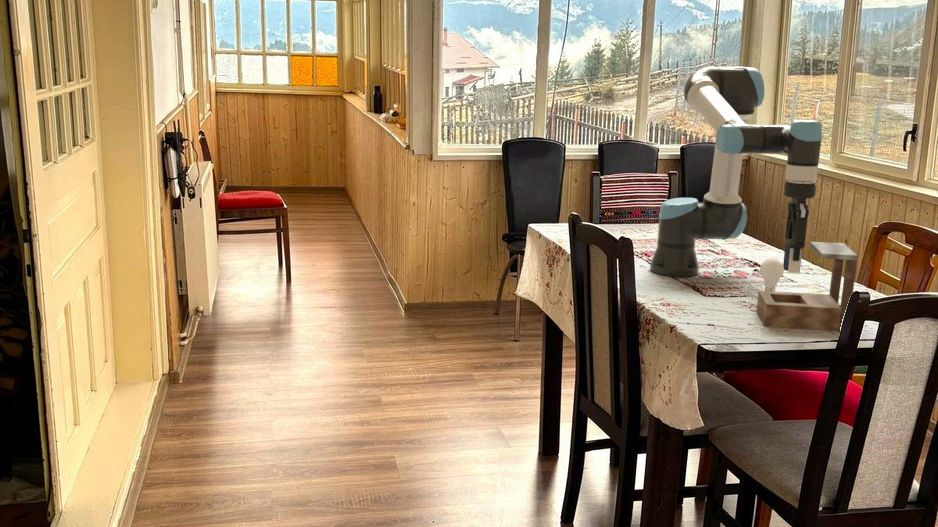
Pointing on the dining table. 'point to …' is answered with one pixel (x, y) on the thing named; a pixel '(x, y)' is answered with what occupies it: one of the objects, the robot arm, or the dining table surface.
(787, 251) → the vaping device
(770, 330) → the dining table surface
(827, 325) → the socket station
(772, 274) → the light bulb
